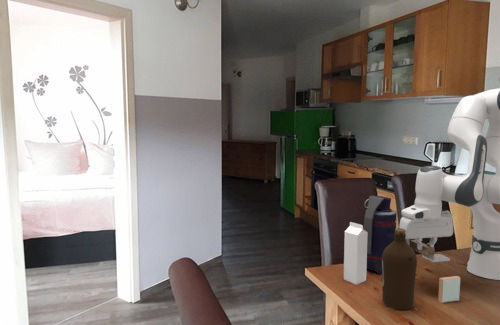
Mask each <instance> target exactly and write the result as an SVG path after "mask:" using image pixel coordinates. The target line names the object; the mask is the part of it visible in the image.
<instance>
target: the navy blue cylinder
mask: <svg viewBox="0 0 500 325" xmlns="http://www.w3.org/2000/svg"><path fill="white" fill-rule="evenodd" d="M391 201H392V198H391V197H387V196H382V195H369V198H368V199H366V200H365V201H364V208H366V209H365V211H364V218H363V221H364V222H363V230H365V231H366V232H368V235H367V269H368V270H371V271H374V272H376V274H378V275H382V254H383V251H384V249H385V248H386V247H387V246H388V245H389V244H391V243H392V242H393V241H394V240H395V229H397V211H395V210H394V209H393V210H392V208H391ZM367 202H368V203H367ZM366 203H367V206H366Z"/></svg>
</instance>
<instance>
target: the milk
mask: <svg viewBox="0 0 500 325" xmlns="http://www.w3.org/2000/svg"><path fill="white" fill-rule="evenodd" d="M367 235H368V232H366V231H365V230H364V224H363V225H362V224H360V223H356V222H352V221H350V222H349V226H348V227H347V228H346V230H344V239H343V240H344V243H343V244H344V247H343V249H344V250H343V251H344V252H343V255H344V256H343V280H344V281H347V282H348V283H351V284H353V285H356V286H357V285H359V284H361V283H365V282H366V281H367V269H368V268H367Z"/></svg>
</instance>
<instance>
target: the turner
mask: <svg viewBox="0 0 500 325" xmlns="http://www.w3.org/2000/svg"><path fill="white" fill-rule="evenodd" d="M421 243H422V245H424V250H419V249H418V248H417V247H418V244H417V242H416V240H415V239H409V246H410V247H411V248H412V249H413V250H414V252H417V253H419V254H422V258H423V259H425V260H427V261H430V262H431V263H439V262H450V261H451V258H450V257H448V256H446V255H444V254H441V253H435V250H436V249H435V247H434V248H433V247H431V246H429V245H427V244H426V243H424V242H422V241H421Z"/></svg>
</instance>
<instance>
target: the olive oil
mask: <svg viewBox="0 0 500 325" xmlns="http://www.w3.org/2000/svg"><path fill="white" fill-rule="evenodd" d="M405 232H406V230H405V229H401V228H399V227H398V228H397V227H396V229H395V240H394V241H393V242H392V243H391V244H389V245H388V246H387V247H386V248H385V249H384V251H383V254H382V274H381V275H382V303H383V304H384V305H385V306H386V307H389V308H391V309H393V310H394V309H395V310H401V311H403V310H404V311H405V310H410V309H412V308H413V306H414V297H415V286H416V276H417V275H416V274H417V265H418V258H417V254H416V251H415V250H413V249H412V248H411V247H410V244H408V243H407V241H406V240H407V239H406V234H405Z"/></svg>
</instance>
